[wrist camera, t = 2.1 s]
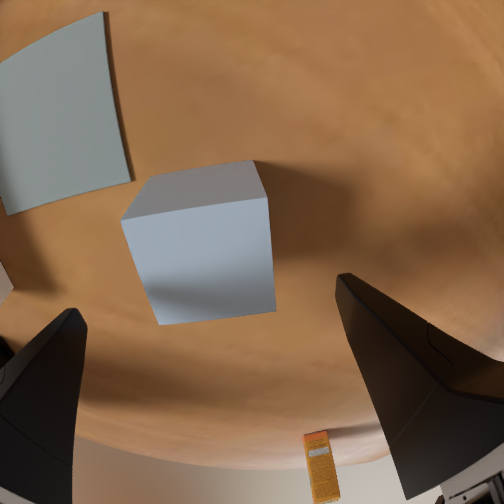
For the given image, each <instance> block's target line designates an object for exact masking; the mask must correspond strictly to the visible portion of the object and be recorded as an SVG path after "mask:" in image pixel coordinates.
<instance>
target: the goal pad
mask: <svg viewBox="0 0 504 504" xmlns="http://www.w3.org/2000/svg"><path fill="white" fill-rule="evenodd" d="M127 182H131V177H130V173H129V168H128V164H127V160H126V156H125V151H124V147H123V142H122V137H121V132H120V128H119V122H118V117H117V112H116V106H115V101H114V95H113V89H112V82H111V76H110V69H109V61H108V53H107V44H106V35H105V24H104V12H103V11H101V12H99V13H96V14H93V15H91V16H88V17H86V18H83V19H81V20H79V21H76V22H74V23H72V24H70V25H67V26H65V27H63V28H61V29H59V30H57V31H55V32H53V33H51V34H49V35H47V36H45V37H43V38H41V39H39V40H38V41H36V42H34V43H32V44H31V45H29V46H27V47H25V48H24V49H22V50H20V51H19V52H17V53H15V54H14V55H12V56H11V57H9V58H8V59H6V60H5V61H3V62H2V63H0V196H1V199H2V202H3V205H4V208H5V210H6V213H7V216H9V215H12V214H15V213H18V212H21V211H24V210H27V209H30V208H33V207H37V206H40V205H43V204H46V203H50V202H53V201H56V200H60V199H63V198H67V197H71V196H74V195H78V194H82V193H86V192H89V191H93V190H97V189H101V188H105V187H110V186H114V185H118V184H123V183H127Z"/></svg>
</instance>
